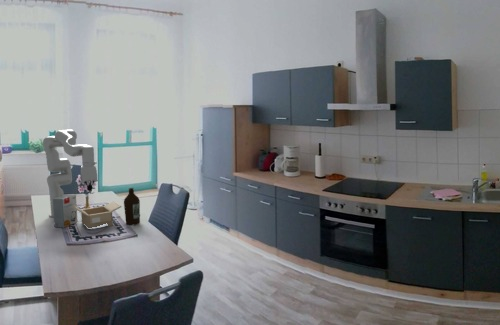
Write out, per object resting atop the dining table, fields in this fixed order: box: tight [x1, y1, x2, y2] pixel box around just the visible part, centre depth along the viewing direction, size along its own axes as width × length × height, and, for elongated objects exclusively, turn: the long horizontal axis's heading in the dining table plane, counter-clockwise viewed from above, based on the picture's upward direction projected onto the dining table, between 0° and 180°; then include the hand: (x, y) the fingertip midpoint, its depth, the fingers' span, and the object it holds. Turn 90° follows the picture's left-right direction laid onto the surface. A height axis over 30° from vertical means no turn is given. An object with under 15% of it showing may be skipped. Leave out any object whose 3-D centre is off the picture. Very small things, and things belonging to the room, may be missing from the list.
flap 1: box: [72, 205, 87, 216], centre depth 272 cm, size 17×7×1 cm
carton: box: [80, 205, 114, 228], centre depth 279 cm, size 19×16×10 cm
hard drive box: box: [53, 193, 78, 228], centre depth 280 cm, size 16×8×20 cm, turn 168°
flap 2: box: [104, 201, 122, 213], centre depth 285 cm, size 17×7×1 cm, turn 36°
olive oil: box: [123, 187, 141, 226], centre depth 280 cm, size 11×11×25 cm
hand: (89, 190), depth 275 cm, fingers closed
